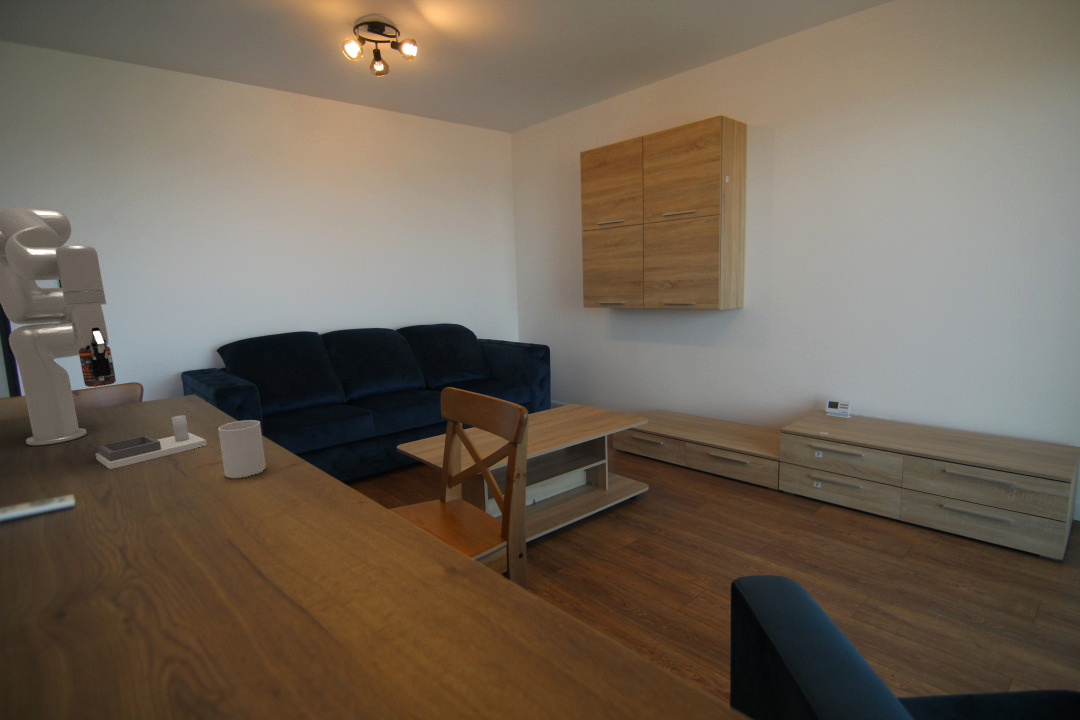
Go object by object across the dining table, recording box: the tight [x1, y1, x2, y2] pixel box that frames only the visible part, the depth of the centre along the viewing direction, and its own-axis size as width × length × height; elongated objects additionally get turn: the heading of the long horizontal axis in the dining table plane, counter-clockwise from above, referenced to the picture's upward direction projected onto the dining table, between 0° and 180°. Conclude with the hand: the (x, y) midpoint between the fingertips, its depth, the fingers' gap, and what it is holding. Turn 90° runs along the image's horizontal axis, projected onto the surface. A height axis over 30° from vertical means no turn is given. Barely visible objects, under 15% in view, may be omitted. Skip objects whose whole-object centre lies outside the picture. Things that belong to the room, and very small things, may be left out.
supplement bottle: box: [78, 340, 117, 388], centre depth 131 cm, size 6×6×11 cm
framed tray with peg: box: [95, 414, 207, 470], centre depth 135 cm, size 12×20×8 cm, turn 140°
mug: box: [217, 419, 266, 479], centre depth 119 cm, size 12×8×10 cm, turn 48°
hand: (99, 374), depth 131 cm, fingers closed on supplement bottle, 5 cm apart
